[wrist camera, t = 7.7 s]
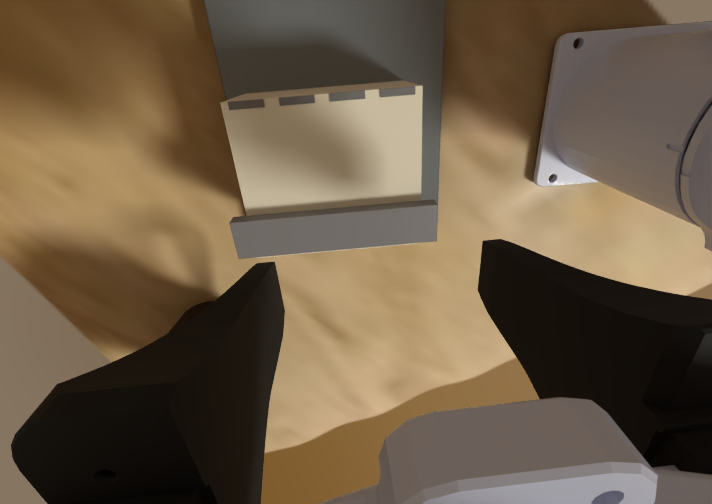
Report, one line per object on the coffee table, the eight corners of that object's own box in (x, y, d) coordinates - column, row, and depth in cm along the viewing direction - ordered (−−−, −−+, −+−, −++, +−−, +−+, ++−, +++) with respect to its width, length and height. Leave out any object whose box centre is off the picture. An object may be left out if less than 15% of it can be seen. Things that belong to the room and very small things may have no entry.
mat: (450, -346, 13) (458, -376, 12) (433, 223, 23) (436, 229, 22) (139, -325, 13) (124, -355, 12) (261, 238, 23) (259, 245, 22)
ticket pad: (414, 79, 18) (442, 85, 14) (414, 208, 21) (436, 248, 17) (233, 94, 18) (198, 105, 13) (260, 222, 21) (240, 266, 17)
